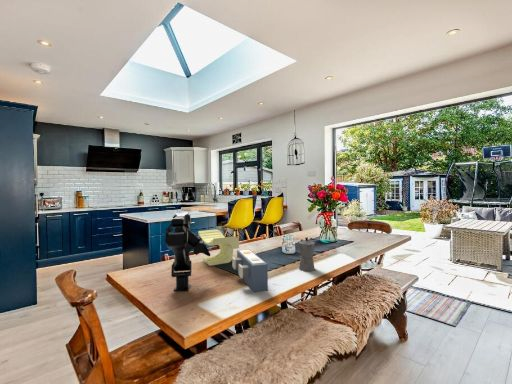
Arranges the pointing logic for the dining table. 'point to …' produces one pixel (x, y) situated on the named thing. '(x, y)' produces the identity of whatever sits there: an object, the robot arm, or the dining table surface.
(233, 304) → the dining table surface
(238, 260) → the button far
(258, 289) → the switch box
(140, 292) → the dining table surface
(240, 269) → the button near
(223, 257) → the slatted curved stool
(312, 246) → the coffeepot
